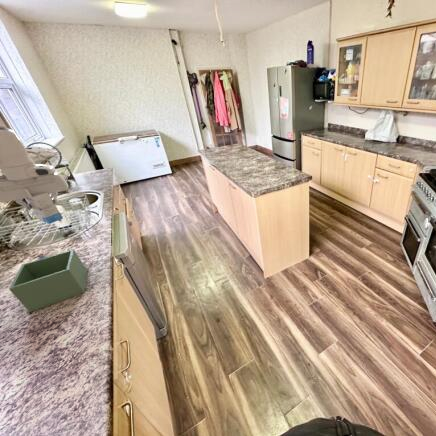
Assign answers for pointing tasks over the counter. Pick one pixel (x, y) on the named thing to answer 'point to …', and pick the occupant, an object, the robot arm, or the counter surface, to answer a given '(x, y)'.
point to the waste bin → (49, 280)
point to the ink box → (43, 207)
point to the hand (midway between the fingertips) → (43, 205)
